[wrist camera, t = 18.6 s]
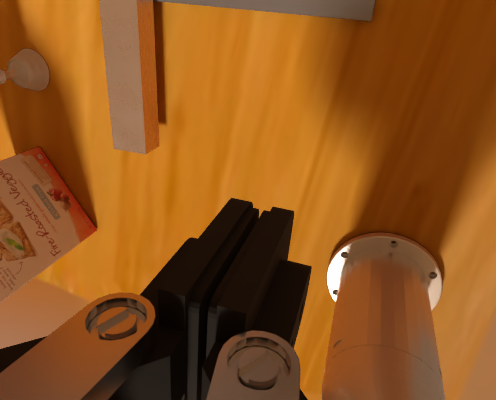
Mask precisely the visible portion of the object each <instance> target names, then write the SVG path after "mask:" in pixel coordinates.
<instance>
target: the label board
mask: <svg viewBox="0 0 496 400" xmlns="http://www.w3.org/2000/svg"><path fill="white" fill-rule="evenodd" d="M153 1H161V2H171V3H182V4H193V5H203V6H214V7H225V8H235V9H246V10H256V11H267V12H278V13H288V14H299V15H310V16H320V17H331V18H341V19H352V20H363V21H371V20H372V15H373V10H374V5H375V0H153Z"/></svg>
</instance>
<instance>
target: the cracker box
mask: <svg viewBox="0 0 496 400" xmlns="http://www.w3.org/2000/svg"><path fill="white" fill-rule="evenodd" d="M95 231H97V229H96V228H95V226H94V225H93V223H92V222H91V220H90V219H89V218H88V216H87V215H86V213H85V212H84V210H83V209H82V208H81V206H80V205H79V203H78V202H77V200H76V199H75V197H74V196H73V194H72V193H71V192H70V190H69V189H68V187H67V186H66V184H65V183H64V181H63V180H62V179H61V177H60V176H59V174H58V173H57V171H56V170H55V168H54V167H53V166H52V164H51V163H50V161H49V160H48V158H47V157H46V155H45V154H44V152H43V151H42V149H41V148H40V147H36V148H34V149H31V150H28V151H25V152H22V153H20V154H17V155H15V156H12V157H10V158H7V159H5V160H2V161H0V303H1V302H2V301H4V300H5V299H6V298H8V297H9V296H10V295H12V294H13V293H14V292H16V291H17V290H18V289H20V288H21V287H22V286H24V285H25V284H26V283H28V282H29V281H30V280H32V279H33V278H34V277H35V276H37V275H38V274H39V273H41V272H42V271H43V270H45V269H46V268H47V267H49V266H50V265H51V264H53V263H54V262H56V261H57V260H58V259H60V258H61V257H62V256H64V255H65V254H66V253H67V252H69V251H70V250H72V249H73V248H74V247H75V246H77V245H78V244H79V243H81V242H82V241H83V240H85V239H86V238H87V237H89V236H90V235H91V234H93V233H94V232H95Z"/></svg>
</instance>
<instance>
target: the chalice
mask: <svg viewBox="0 0 496 400" xmlns="http://www.w3.org/2000/svg"><path fill="white" fill-rule="evenodd" d="M49 76H50V74H49V69H48V66H47V64H46V62H45V60H44V59H43V58H42V56H41V55H40V54H39V53H37V52H36V51H34V50H32V49H23V50H21V51H19V53H17V54H15V56H14V57H12V58H11V59H10V60H9V63H8V66H7V71H3V70H1V69H0V84H3V83H5V81H6V79H8V78H11V80H12V81H13V82H14V83H16V84H17V85H18V86H20V87H22V88H27V89H31V90H34V91H41V90H44V89H45V88H46V87H47V86H48V83H49Z"/></svg>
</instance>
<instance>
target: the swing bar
mask: <svg viewBox="0 0 496 400" xmlns="http://www.w3.org/2000/svg"><path fill="white" fill-rule="evenodd" d="M99 4H100V14H101V24H102V34H103V44H104V54H105V65H106V75H107V85H108V95H109V105H110V115H111V126H112V136H113V146H114V149H118V150H124V151H130V152H135V153H141V154H147V153H149V152H151V151H152V150H154V149H155V148H157V147H159V127H158V104H157V81H156V58H155V35H154V11H153V0H99Z"/></svg>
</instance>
